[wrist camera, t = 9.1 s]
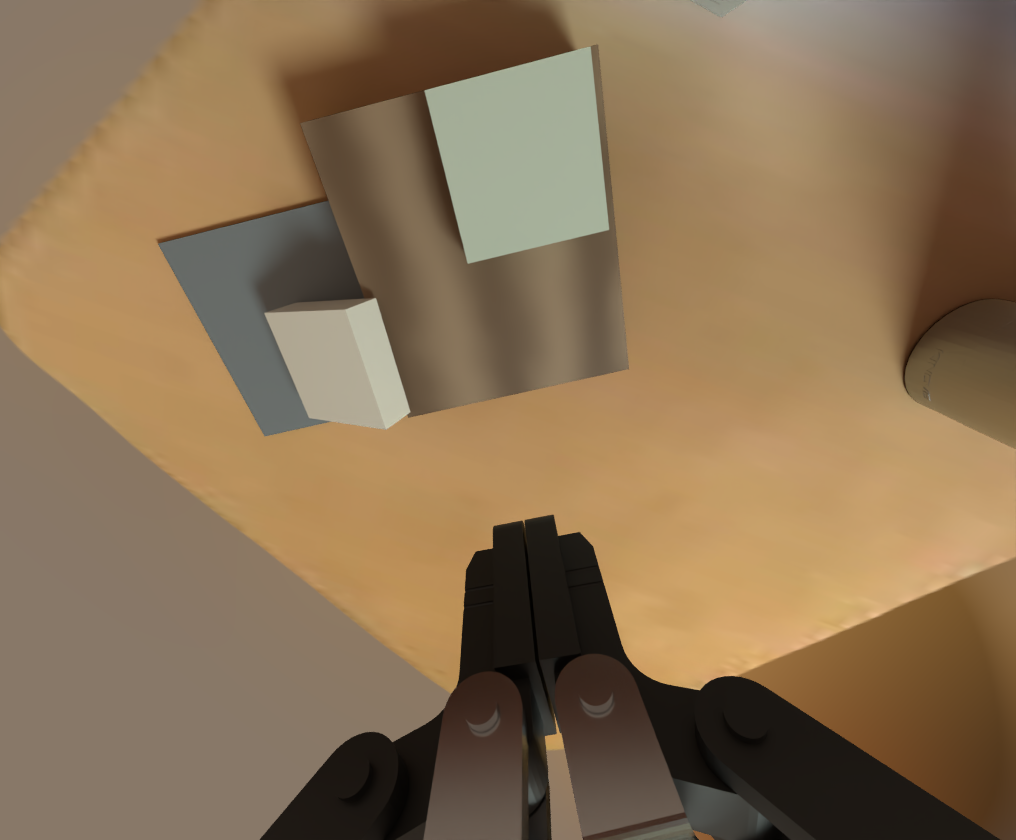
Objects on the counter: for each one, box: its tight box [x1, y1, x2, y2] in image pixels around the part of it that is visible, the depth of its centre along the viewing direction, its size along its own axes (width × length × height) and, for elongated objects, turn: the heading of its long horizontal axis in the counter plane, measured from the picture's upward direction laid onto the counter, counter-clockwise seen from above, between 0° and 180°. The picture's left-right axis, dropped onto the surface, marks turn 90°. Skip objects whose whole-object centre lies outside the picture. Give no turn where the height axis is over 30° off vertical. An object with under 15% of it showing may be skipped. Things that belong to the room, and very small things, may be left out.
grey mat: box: [158, 201, 365, 436], centre depth 32 cm, size 12×15×1 cm
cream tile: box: [264, 298, 410, 430], centre depth 30 cm, size 8×8×2 cm
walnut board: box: [300, 44, 629, 418], centre depth 28 cm, size 16×18×4 cm
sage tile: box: [424, 46, 609, 264], centre depth 23 cm, size 8×8×2 cm
